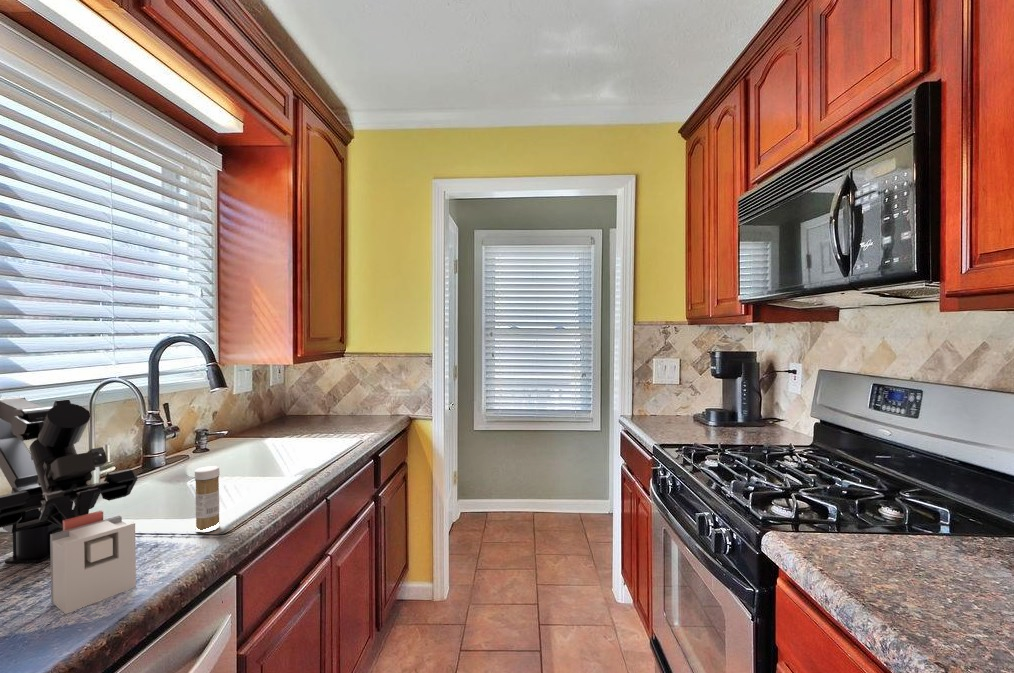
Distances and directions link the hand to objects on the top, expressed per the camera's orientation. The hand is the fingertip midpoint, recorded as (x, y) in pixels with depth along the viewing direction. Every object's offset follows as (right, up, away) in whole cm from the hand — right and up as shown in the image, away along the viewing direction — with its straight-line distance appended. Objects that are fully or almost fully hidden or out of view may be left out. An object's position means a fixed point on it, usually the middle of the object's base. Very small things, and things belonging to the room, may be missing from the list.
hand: (82, 537), depth 80 cm
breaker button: (+4, -3, -2) cm, 5 cm away
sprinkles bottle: (+7, -8, +22) cm, 25 cm away
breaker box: (+5, -8, -3) cm, 10 cm away
